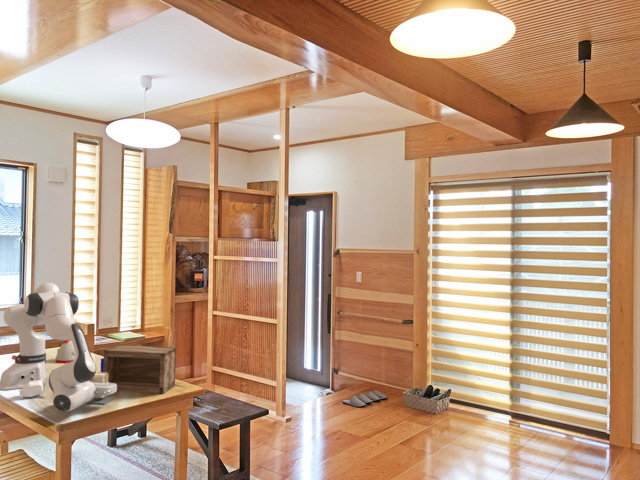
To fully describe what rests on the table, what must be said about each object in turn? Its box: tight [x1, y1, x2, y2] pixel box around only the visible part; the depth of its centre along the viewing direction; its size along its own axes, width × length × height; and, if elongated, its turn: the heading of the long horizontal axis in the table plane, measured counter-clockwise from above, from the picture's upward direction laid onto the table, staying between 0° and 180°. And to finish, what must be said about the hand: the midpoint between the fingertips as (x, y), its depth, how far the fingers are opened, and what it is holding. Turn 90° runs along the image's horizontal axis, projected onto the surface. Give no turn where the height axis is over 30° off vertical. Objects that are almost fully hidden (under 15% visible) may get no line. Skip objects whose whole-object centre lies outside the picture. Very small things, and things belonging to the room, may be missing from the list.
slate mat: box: [84, 395, 117, 406], centre depth 229 cm, size 10×10×1 cm
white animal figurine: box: [19, 375, 50, 401], centre depth 234 cm, size 9×8×15 cm
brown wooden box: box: [103, 344, 177, 395], centre depth 250 cm, size 14×30×19 cm, turn 84°
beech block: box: [92, 371, 108, 398], centre depth 229 cm, size 4×4×10 cm
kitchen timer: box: [55, 340, 76, 364], centre depth 303 cm, size 14×14×15 cm
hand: (101, 383), depth 230 cm, fingers closed on beech block, 4 cm apart
